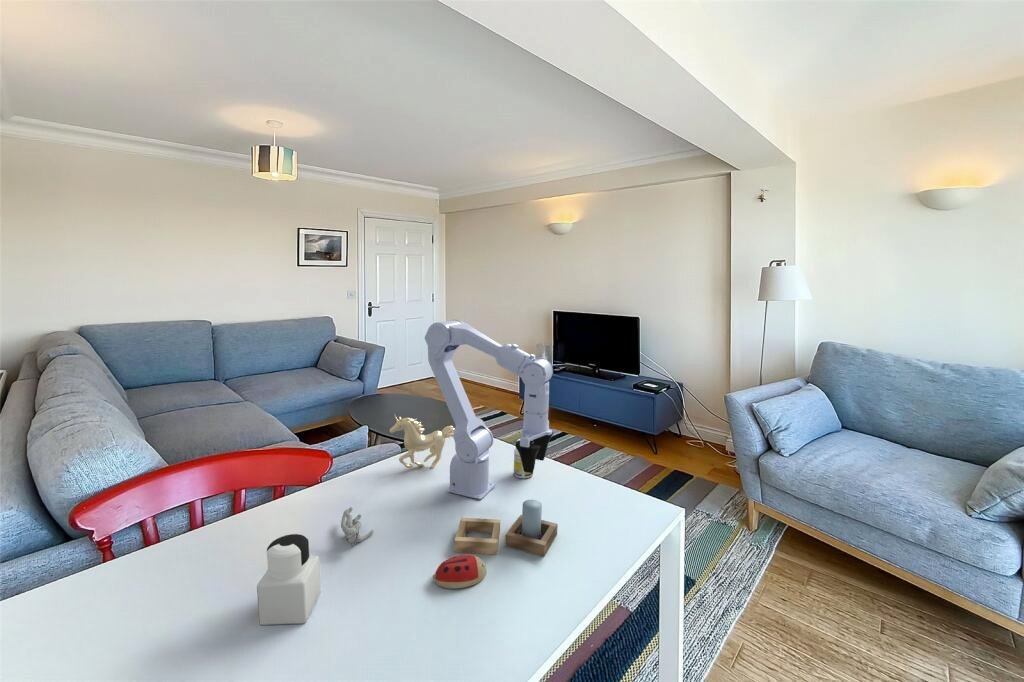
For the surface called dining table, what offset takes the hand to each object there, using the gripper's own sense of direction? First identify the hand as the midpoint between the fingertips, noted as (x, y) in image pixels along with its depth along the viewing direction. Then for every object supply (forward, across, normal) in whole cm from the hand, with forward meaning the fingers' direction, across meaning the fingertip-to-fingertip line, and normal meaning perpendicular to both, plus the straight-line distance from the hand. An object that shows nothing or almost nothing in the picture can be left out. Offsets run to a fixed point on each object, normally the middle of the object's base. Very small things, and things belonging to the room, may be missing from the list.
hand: (534, 465), depth 109 cm
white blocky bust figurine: (+10, -49, +24) cm, 55 cm away
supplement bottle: (+10, +14, +8) cm, 19 cm away
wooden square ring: (+10, -14, -5) cm, 18 cm away
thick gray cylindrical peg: (+10, -14, -5) cm, 18 cm away
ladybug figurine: (+10, -30, +3) cm, 32 cm away
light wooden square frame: (+10, -19, +5) cm, 22 cm away
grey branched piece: (+10, -28, +30) cm, 42 cm away
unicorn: (+10, +6, +35) cm, 37 cm away
